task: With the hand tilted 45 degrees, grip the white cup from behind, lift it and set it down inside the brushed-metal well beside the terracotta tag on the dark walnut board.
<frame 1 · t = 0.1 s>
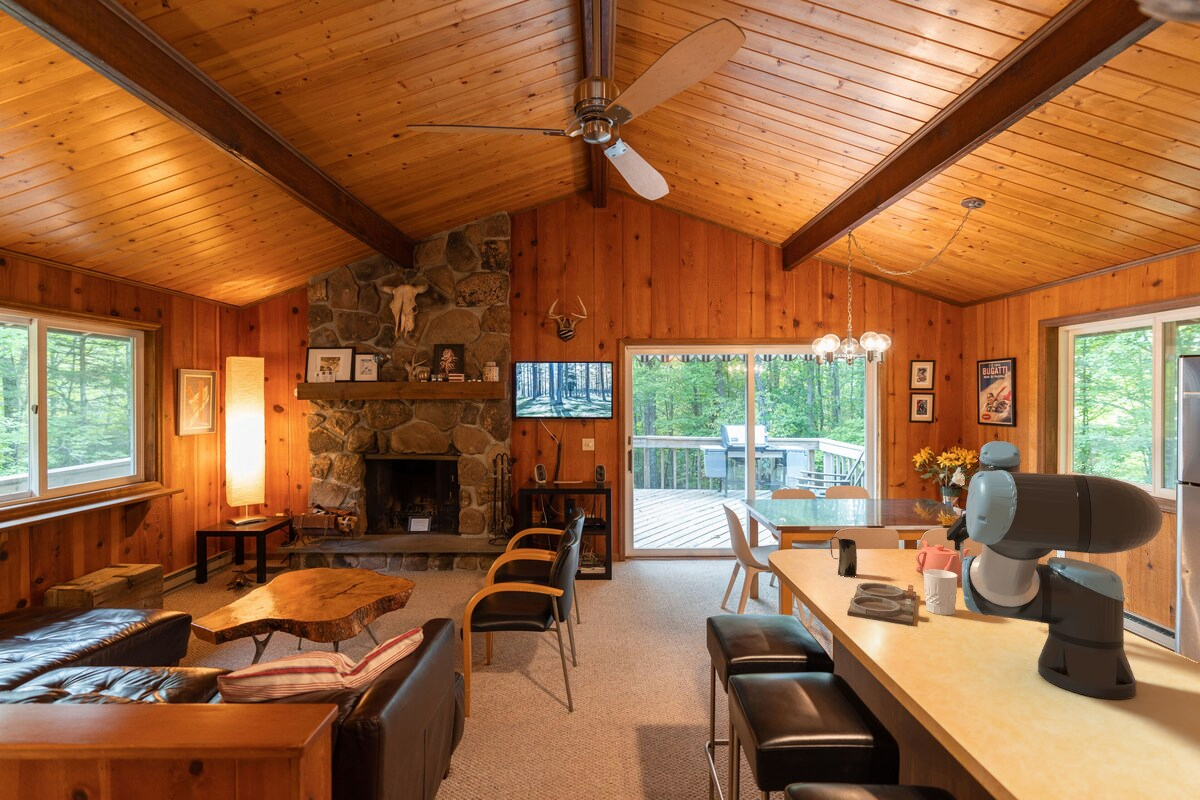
hand: (993, 561, 151), 15 cm above the breakfast bar, tool tilted 35°, fingers open, 13 cm apart
mug: (843, 575, 193), on the breakfast bar
white cup: (940, 611, 159), on the breakfast bar
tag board: (883, 604, 164), on the breakfast bar
teapot: (944, 581, 187), on the breakfast bar
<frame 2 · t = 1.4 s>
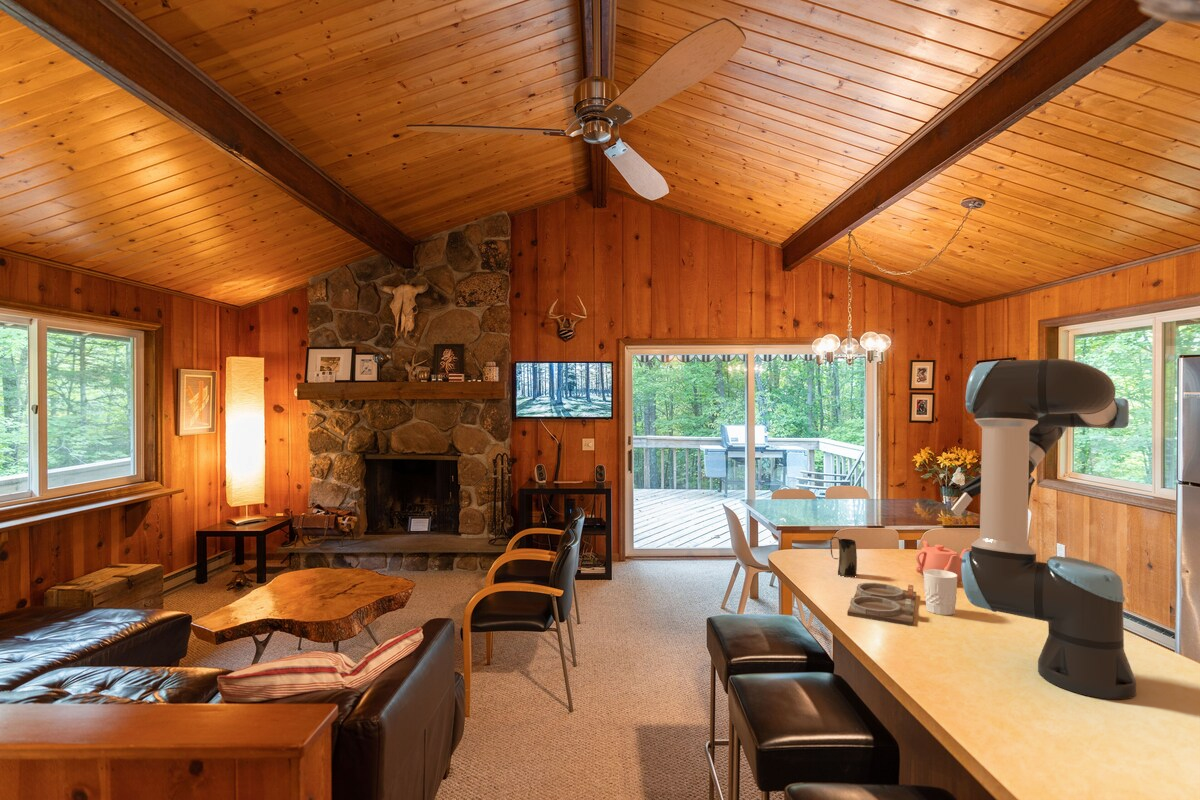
hand: (974, 517, 161), 24 cm above the breakfast bar, tool tilted 45°, fingers open, 13 cm apart
nothing on the breakfast bar moved.
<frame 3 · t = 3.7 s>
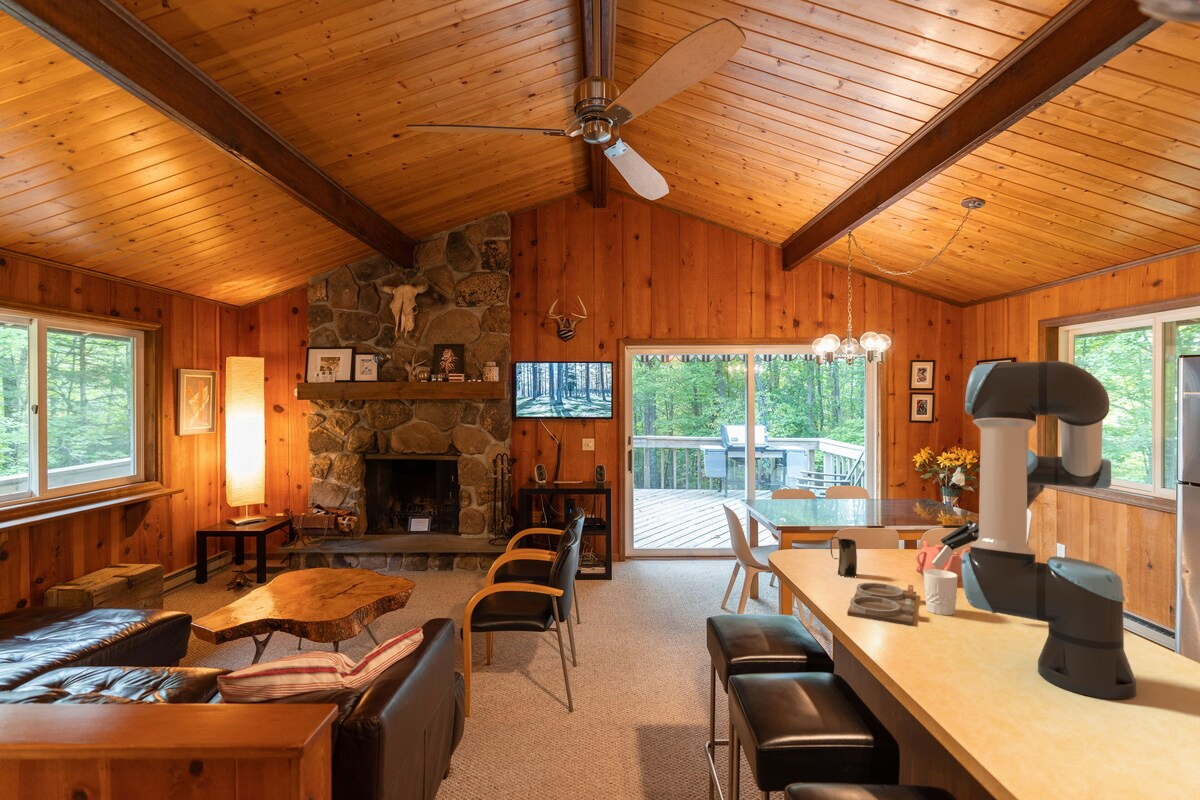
hand: (954, 572, 161), 10 cm above the breakfast bar, tool tilted 45°, fingers open, 13 cm apart
nothing on the breakfast bar moved.
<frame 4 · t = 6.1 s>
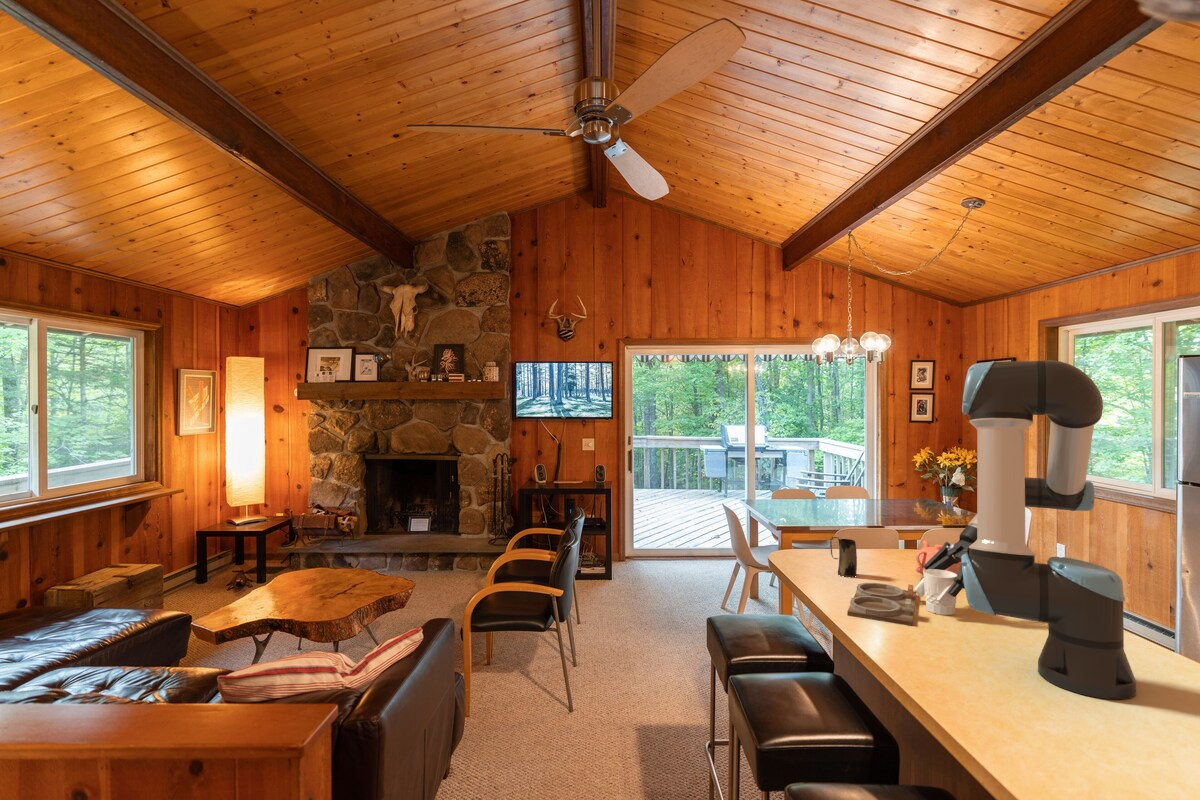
hand: (929, 598, 159), 4 cm above the breakfast bar, tool tilted 45°, fingers closed on white cup, 8 cm apart
white cup: (940, 611, 159), on the breakfast bar, touching gripper
everything else where it was.
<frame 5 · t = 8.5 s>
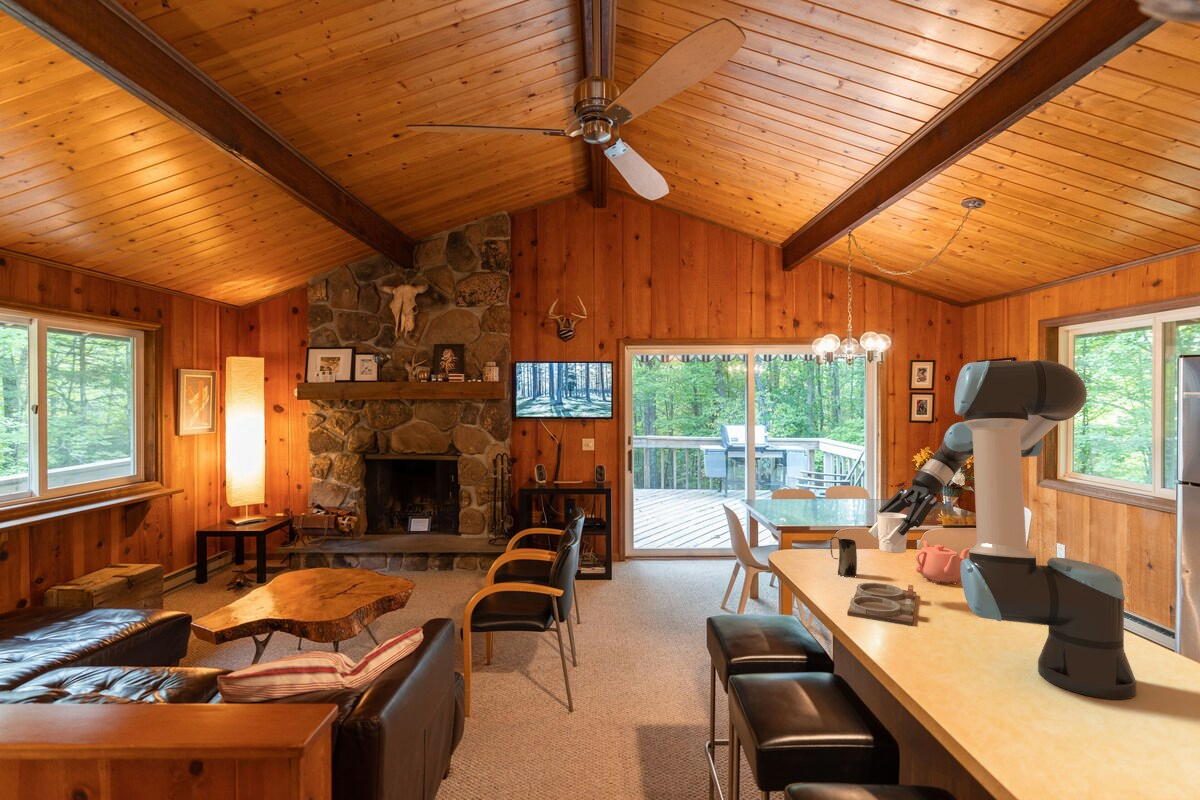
hand: (881, 538, 169), 17 cm above the breakfast bar, tool tilted 45°, fingers closed on white cup, 8 cm apart
white cup: (892, 551, 170), point 13 cm above the breakfast bar, touching gripper
everything else where it was.
when the fingers open (7 cm above the breakfast bar, at t = 11.0 s): white cup drops 2 cm, resting on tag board.
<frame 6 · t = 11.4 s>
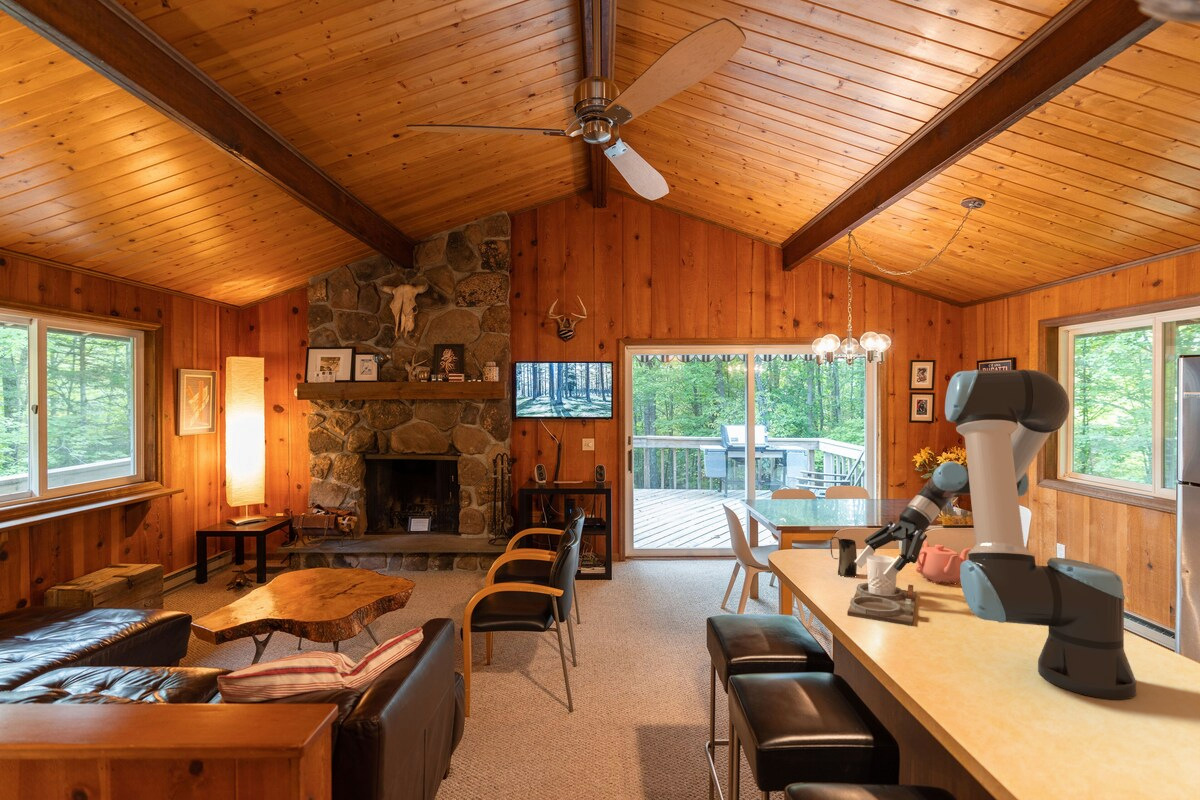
hand: (871, 570, 170), 7 cm above the breakfast bar, tool tilted 45°, fingers open, 12 cm apart
white cup: (881, 594, 170), point 1 cm above the breakfast bar, touching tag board
everything else where it was.
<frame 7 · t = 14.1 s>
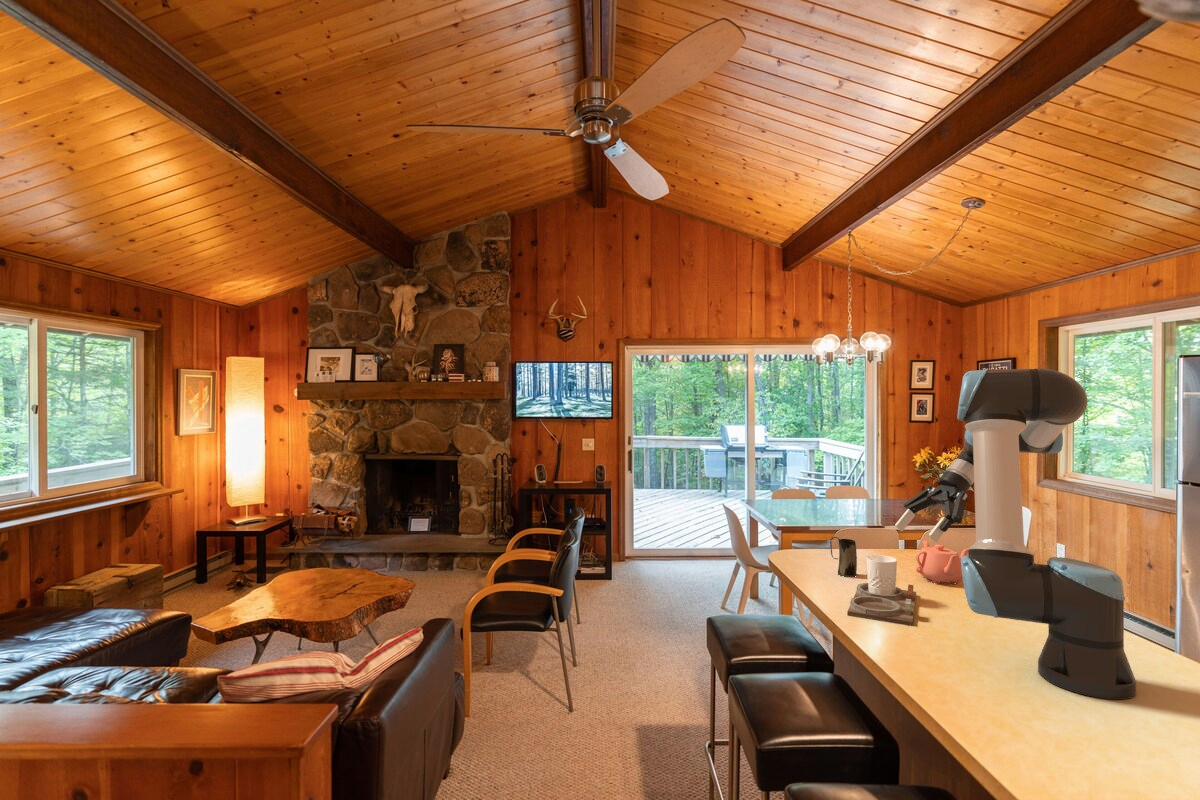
hand: (914, 533, 173), 18 cm above the breakfast bar, tool tilted 45°, fingers open, 13 cm apart
nothing on the breakfast bar moved.
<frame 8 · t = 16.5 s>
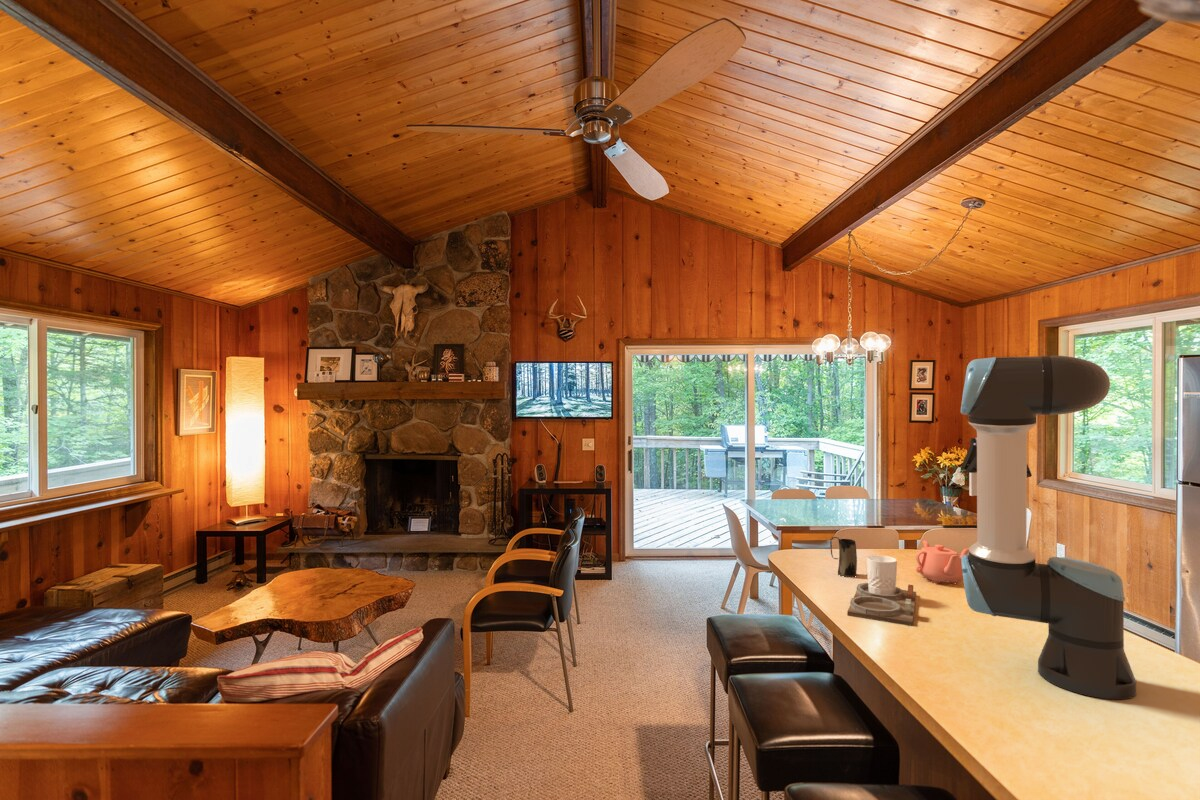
hand: (994, 499, 164), 29 cm above the breakfast bar, tool pointing down, fingers open, 13 cm apart
nothing on the breakfast bar moved.
at the end: white cup 0.6 cm from the target spot on the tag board, point 0.8 cm above the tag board's base; white cup tilted 0°; the gripper is holding nothing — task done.
